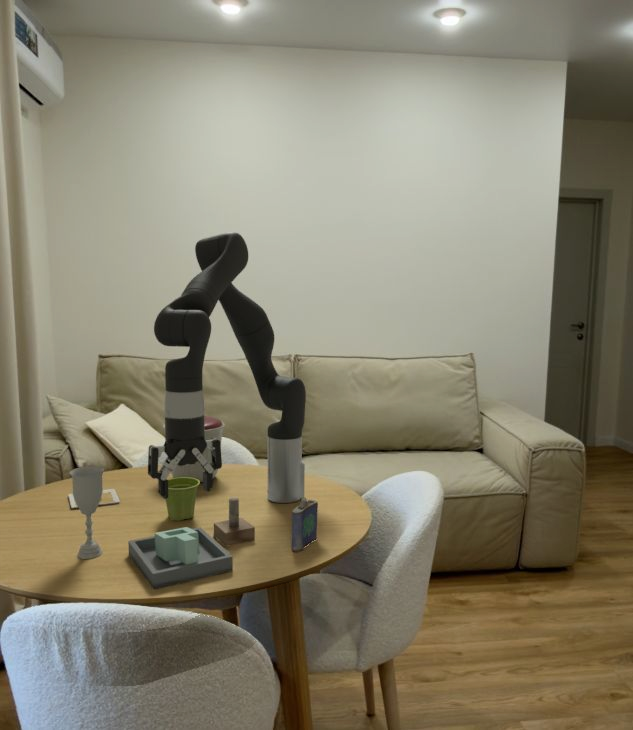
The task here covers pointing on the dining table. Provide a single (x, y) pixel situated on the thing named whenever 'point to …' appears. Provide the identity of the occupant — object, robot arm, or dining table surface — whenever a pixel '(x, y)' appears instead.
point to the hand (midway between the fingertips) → (186, 494)
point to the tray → (175, 571)
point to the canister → (195, 470)
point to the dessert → (113, 493)
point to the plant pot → (181, 497)
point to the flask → (304, 524)
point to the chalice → (88, 503)
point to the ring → (178, 545)
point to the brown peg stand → (234, 527)
